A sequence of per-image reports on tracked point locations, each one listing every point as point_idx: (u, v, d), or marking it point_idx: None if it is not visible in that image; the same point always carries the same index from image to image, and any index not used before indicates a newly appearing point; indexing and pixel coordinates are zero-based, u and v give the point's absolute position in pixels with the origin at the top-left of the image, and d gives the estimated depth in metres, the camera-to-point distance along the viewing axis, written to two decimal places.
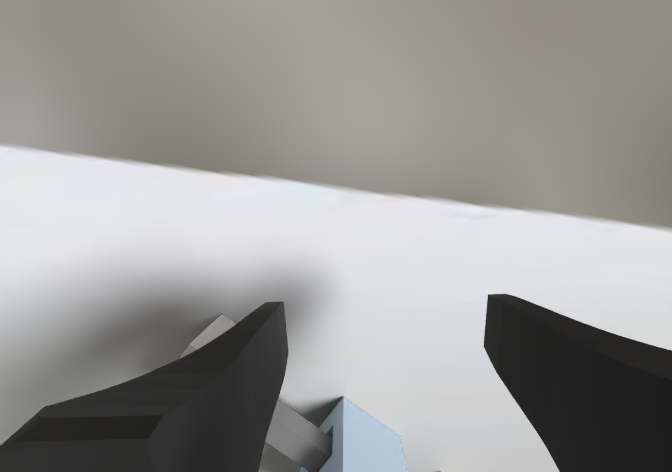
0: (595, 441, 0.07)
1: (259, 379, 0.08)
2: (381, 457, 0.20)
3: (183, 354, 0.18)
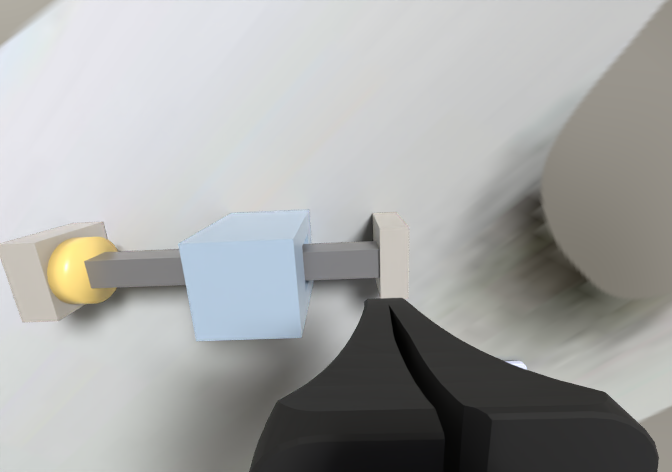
0: None
1: None
2: (263, 223, 0.17)
3: (1, 257, 0.16)
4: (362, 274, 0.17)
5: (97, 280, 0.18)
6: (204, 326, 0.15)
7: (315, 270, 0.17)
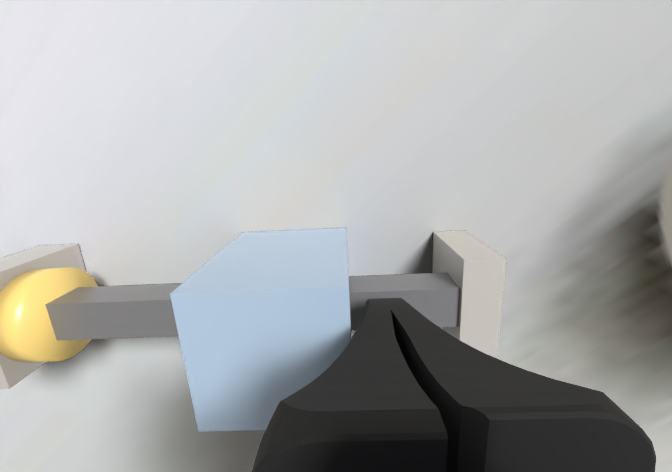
0: None
1: None
2: (291, 251, 0.12)
3: None
4: (434, 322, 0.12)
5: (64, 330, 0.13)
6: (210, 411, 0.10)
7: None
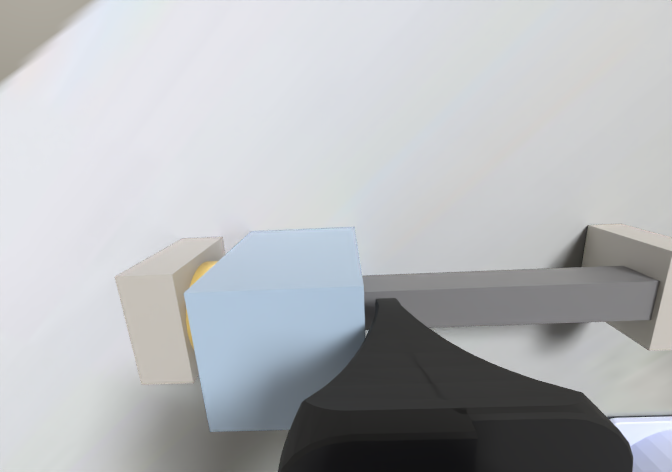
0: None
1: None
2: (302, 251, 0.12)
3: (121, 295, 0.11)
4: (626, 315, 0.12)
5: None
6: (222, 411, 0.10)
7: (559, 310, 0.12)
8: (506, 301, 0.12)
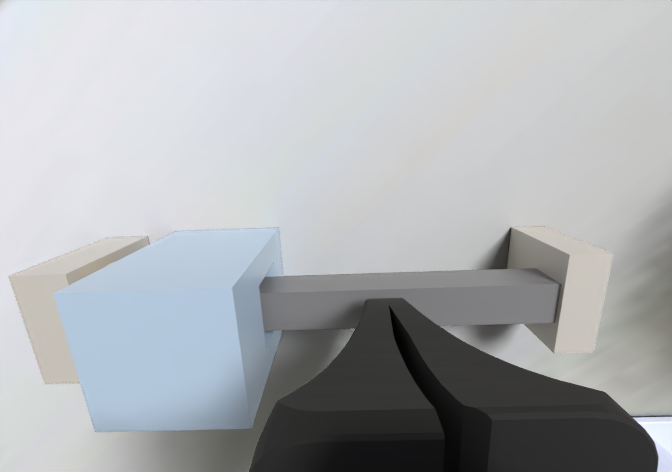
0: None
1: None
2: (206, 251, 0.12)
3: (16, 294, 0.11)
4: (530, 318, 0.12)
5: None
6: (105, 412, 0.10)
7: (464, 312, 0.12)
8: (410, 303, 0.12)
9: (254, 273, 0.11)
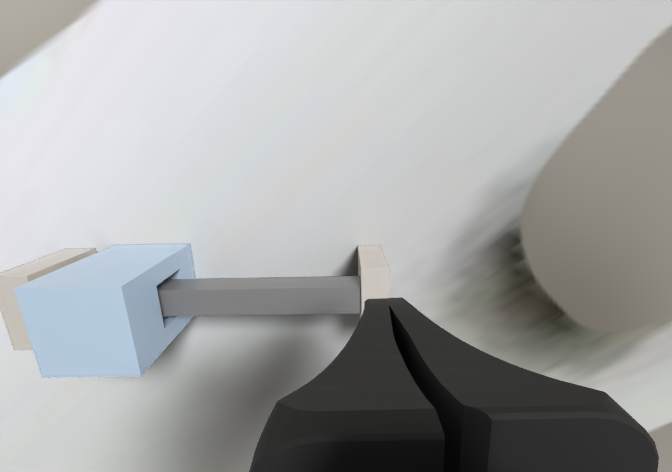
0: None
1: None
2: (124, 261, 0.18)
3: None
4: (344, 310, 0.18)
5: None
6: (47, 364, 0.16)
7: (299, 305, 0.18)
8: (262, 298, 0.18)
9: (150, 277, 0.17)
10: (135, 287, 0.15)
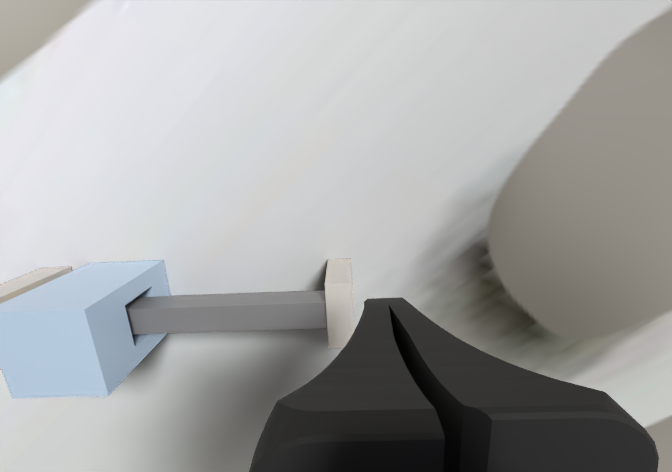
0: None
1: None
2: (94, 282, 0.18)
3: None
4: (311, 325, 0.18)
5: None
6: (17, 385, 0.16)
7: (266, 321, 0.18)
8: (230, 315, 0.18)
9: (117, 297, 0.17)
10: (100, 309, 0.16)
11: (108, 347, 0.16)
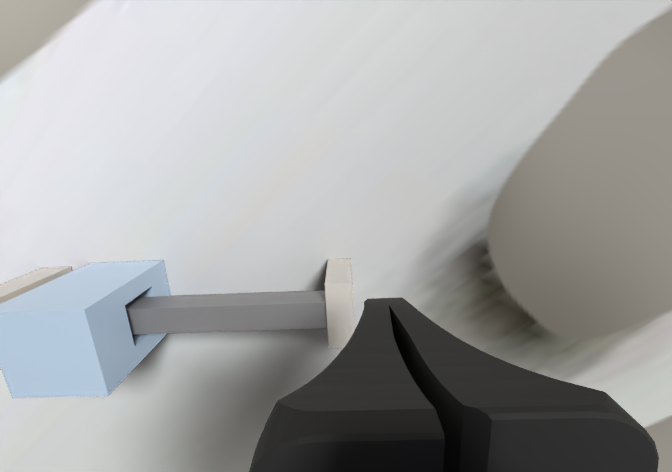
0: None
1: None
2: (94, 282, 0.18)
3: None
4: (311, 325, 0.18)
5: None
6: (17, 385, 0.16)
7: (266, 321, 0.18)
8: (230, 315, 0.18)
9: (117, 297, 0.17)
10: (100, 309, 0.16)
11: (108, 347, 0.16)
